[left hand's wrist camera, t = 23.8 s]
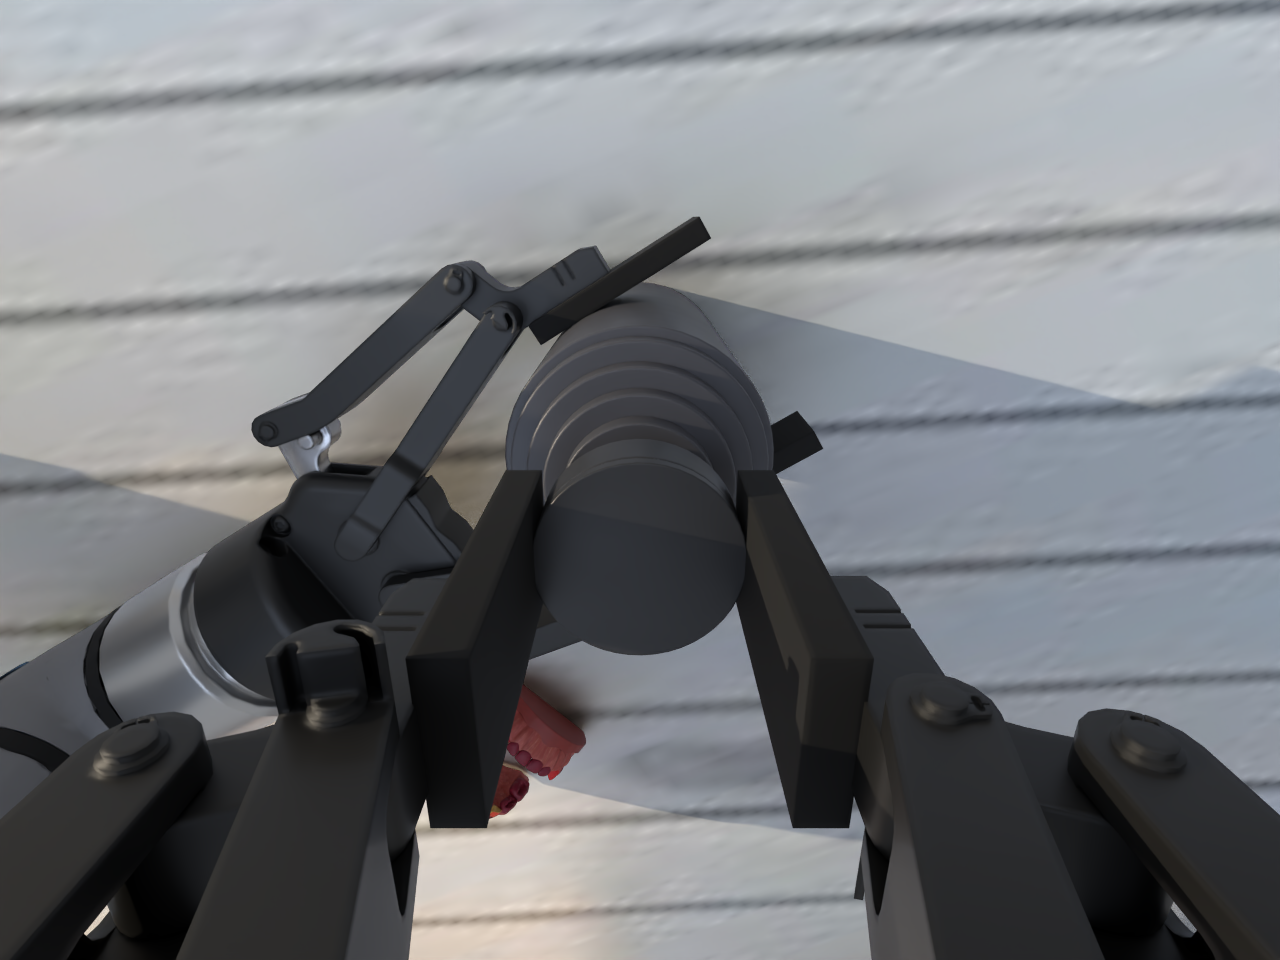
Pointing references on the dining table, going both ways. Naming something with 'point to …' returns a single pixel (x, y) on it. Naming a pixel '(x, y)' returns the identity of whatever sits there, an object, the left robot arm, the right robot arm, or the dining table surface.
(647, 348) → the bottle
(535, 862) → the dining table surface
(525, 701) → the dental model
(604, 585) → the cap
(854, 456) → the dining table surface
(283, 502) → the right robot arm
